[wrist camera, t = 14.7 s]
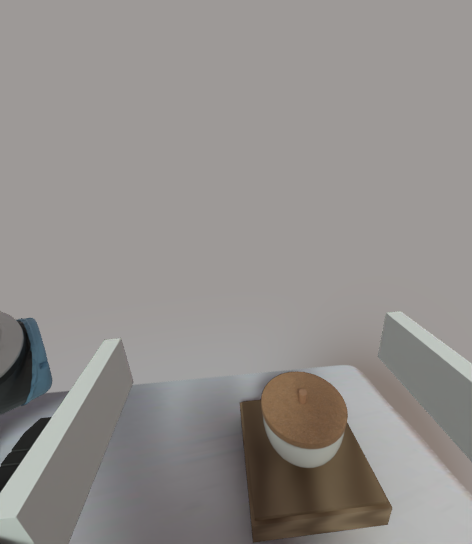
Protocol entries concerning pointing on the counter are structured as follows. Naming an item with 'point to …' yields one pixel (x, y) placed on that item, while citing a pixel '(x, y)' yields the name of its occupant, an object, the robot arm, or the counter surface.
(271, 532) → the walnut stand
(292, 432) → the lidded jar
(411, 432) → the counter surface
